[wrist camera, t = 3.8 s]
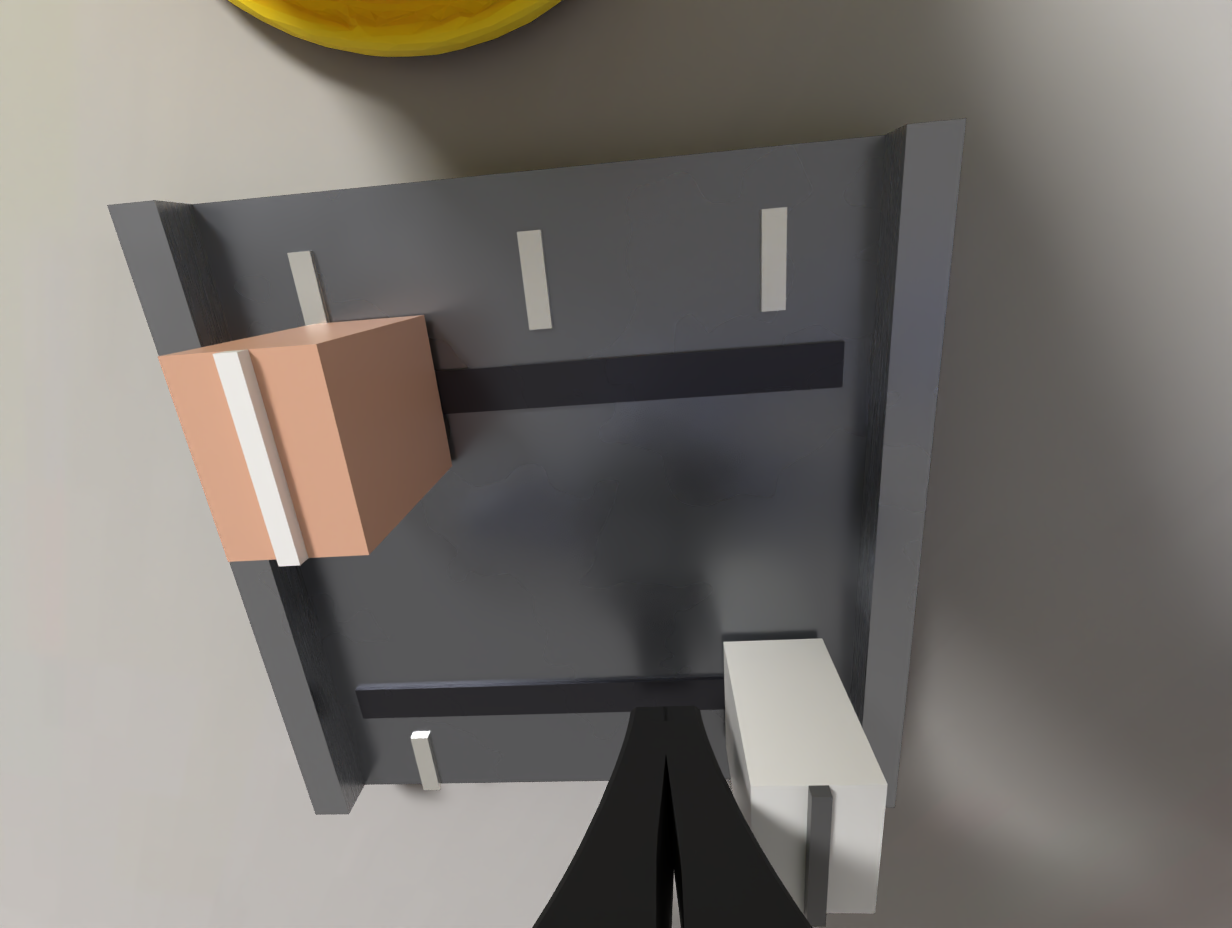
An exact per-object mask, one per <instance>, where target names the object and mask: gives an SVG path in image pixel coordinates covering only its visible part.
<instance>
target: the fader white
mask: <svg viewBox="0 0 1232 928" xmlns="http://www.w3.org/2000/svg"><path fill="white" fill-rule="evenodd" d="M723 646H724V686H725V727H726V750H727V757H728V763H729V770H730V776H731V783H732V789H733V795H734V798H735V800H736V802H737V804H738V806H739V808H740V810H741V812H742V814H743V816H744V818H745V820H746V822H747V823H748V825H749V827H750V829H751V831H752V832H753V834H754V836H755V838H756V839H757V841H758V843H759V845H760V847H761V848H762V850H763V852H764V853H765V855H766V857H767V858H768V860H769V862H770V864H771V865H772V867H773V868H774V870H775V872H776V873H777V875H778V877H779V878H780V880H781V881H782V883H783V884H784V886H785V887H786V889H787V890H788V892H789V894H790V895H791V897H792V898H793V900H794V901H795V903H796V904H797V906H798V907H799V909H800V910H801V912H802V913H804V916H805V917H806V919H807V920H808V922H809V923H810V925H811V926H826V913H875V910H876V899H877V889H878V879H879V868H880V858H881V847H882V837H883V827H884V816H885V806H886V796H887V785H888V784H887V782H886V780H885V778H884V775H883V773H882V771H881V769H880V766H879V764H878V762H877V760H876V757H875V755H874V753H873V751H872V749H871V746H870V744H869V742H868V740H867V737H866V735H865V733H864V731H863V728H862V726H861V724H860V722H859V720H858V717H857V715H856V713H855V711H854V708H853V706H852V704H851V702H850V699H849V697H848V695H847V693H846V691H845V688H844V686H843V684H842V682H841V679H840V677H839V675H838V673H837V670H836V668H835V666H834V664H833V662H832V659H831V657H830V655H829V653H828V650H827V648H826V646H825V644H824V641H823V639H822V638H819V639H790V640H761V641H732V642H723Z"/></svg>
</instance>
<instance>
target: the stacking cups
mask: <svg viewBox="0 0 1232 928" xmlns="http://www.w3.org/2000/svg"><path fill="white" fill-rule="evenodd" d="M228 1H230V2H231V3H232V4H234V5H235V6H237V7H239V8H241V9H242V10H244V11H246V12H247V13H249V14H251V15H253V16H254V17H256V18H258V19H259V20H261V21H263V22H265V23H267V24H269V25H271V26H273V27H275V28H277V29H279V30H282V31H284V32H286V33H288V34H290V35H292V36H294V37H297V38H300V39H303V40H306V41H309V42H312V43H315V44H318V45H321V46H324V47H328V48H334V49H339V50H344V51H349V52H354V53H359V54H364V55H370V56H382V57H411V56H425V55H438V54H442V53H447V52H451V51H456V50H460V49H464V48H467V47H470V46H473V45H476V44H480V43H483V42H486V41H489V40H493V39H496V38H498V37H500V36H502V35H504V34H506V33H509V32H511V31H513V30H515V29H517V28H519V27H521V26H523V25H526V24H528V23H530V22H532V21H533V20H535V19H536V18H537V17H539V16H540V15H542V14H543V13H545V12H546V11H548V10H549V9H551V8H552V7H554V6H555V5H556V4H558V3H559V2H561V1H562V0H228Z"/></svg>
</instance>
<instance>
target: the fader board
mask: <svg viewBox="0 0 1232 928" xmlns="http://www.w3.org/2000/svg"><path fill="white" fill-rule="evenodd" d="M965 125H966V118H963V119H954V120H944V121H934V122H924V123H914V124H907V125H905V126H903V127H901V128H899V129H897V130H895V131H893V132H891V133H889V134H887V135H881V136H871V137H861V138H851V139H841V140H831V141H821V142H811V143H801V144H791V145H781V146H771V147H761V148H751V149H741V150H731V151H721V152H711V153H701V154H691V155H681V156H671V157H661V158H651V159H641V160H631V161H621V162H611V163H601V164H591V165H581V166H571V167H561V168H551V169H541V170H531V171H521V172H511V173H501V174H491V175H481V176H471V177H461V178H451V179H441V180H431V181H421V182H411V183H401V184H391V185H381V186H371V187H361V188H351V189H341V190H331V191H321V192H311V193H301V194H291V195H282V196H272V197H262V198H252V199H242V200H232V201H222V202H212V203H202V204H184V203H174V202H165V201H156V200H153V201H143V202H133V203H123V204H114V205H107V206H108V209H109V212H110V215H111V218H112V220H113V223H114V226H115V229H116V232H117V235H118V238H119V241H120V244H121V247H122V250H123V253H124V256H125V258H126V261H127V264H128V267H129V270H130V273H131V276H132V279H133V282H134V285H135V288H136V291H137V294H138V296H139V299H140V302H141V305H142V308H143V311H144V314H145V317H146V320H147V323H148V326H149V329H150V332H151V334H152V337H153V340H154V343H155V346H156V349H157V352H158V355H159V356H163V355H167V354H172V353H177V352H182V351H187V350H191V349H196V348H201V347H206V346H211V345H215V344H220V343H225V342H230V341H235V340H239V339H244V338H249V337H254V336H259V335H263V334H268V333H273V332H278V331H283V330H288V329H292V328H297V327H302V326H307V325H312V324H319V323H331V322H344V321H356V320H368V319H381V318H393V317H405V316H417V315H424V317H425V322H426V328H427V333H428V338H429V344H430V349H431V354H432V360H433V365H434V370H435V376H436V381H437V386H438V392H439V397H440V403H441V408H442V413H443V419H444V424H445V429H446V435H447V440H448V445H449V451H450V456H451V461H452V467H451V468H450V469H449V470H448V471H447V472H446V473H445V474H444V475H443V476H442V477H441V479H440V480H439V481H438V482H437V483H436V484H435V485H434V486H433V487H432V488H431V489H430V490H429V491H428V492H427V494H426V495H425V496H424V497H423V498H422V499H421V500H420V501H419V502H418V503H417V504H416V505H415V506H414V507H413V509H412V510H411V511H410V512H409V513H408V514H407V515H406V516H405V517H404V518H403V519H402V520H401V521H400V522H399V524H398V525H397V526H396V527H395V528H394V529H393V530H392V531H391V532H390V533H389V534H388V535H387V536H386V537H385V539H384V540H383V541H382V542H381V543H380V544H379V545H378V546H377V547H376V548H375V549H374V550H373V551H372V552H371V554H370V555H359V556H338V557H317V558H308V559H307V560H306V561H305V562H303V563H302V564H301V565H297V566H278V563H277V560H255V561H235V562H230V565H231V568H232V571H233V574H234V577H235V580H236V583H237V586H238V589H239V592H240V595H241V597H242V600H243V603H244V606H245V609H246V612H247V615H248V618H249V621H250V624H251V627H252V630H253V633H254V635H255V638H256V641H257V644H258V647H259V650H260V653H261V656H262V659H263V662H264V665H265V668H266V670H267V673H268V676H269V679H270V682H271V685H272V688H273V691H274V694H275V697H276V700H277V703H278V706H279V708H280V711H281V714H282V717H283V720H284V723H285V726H286V729H287V732H288V735H289V738H290V741H291V744H292V746H293V749H294V752H295V755H296V758H297V761H298V764H299V767H300V770H301V773H302V776H303V779H304V782H305V784H306V787H307V790H308V793H309V796H310V799H311V802H312V805H313V808H314V811H315V814H316V815H318V814H349V813H350V811H351V809H352V807H353V806H354V804H355V802H356V800H357V798H358V796H359V794H360V793H361V791H362V789H363V787H364V785H367V784H422V785H423V789H424V790H440V788H441V783H491V782H552V781H609V780H610V777H611V775H612V772H613V770H614V767H615V765H616V762H617V759H618V756H619V753H620V750H621V747H622V744H623V741H624V738H625V734H626V731H627V727H628V723H629V718H630V712H631V711H632V710H633V709H634V708H635V707H659V706H696V707H697V708H698V709H699V710H700V711H701V716H702V720H703V724H704V727H705V730H706V733H707V736H708V739H709V742H710V745H711V747H712V750H713V752H714V755H715V757H716V760H717V762H718V764H719V767H720V769H721V771H722V773H723V776H724V778H725V779H731V776H730V770H729V763H728V757H727V750H726V727H725V686H724V646H723V642H732V641H761V640H790V639H819V638H822V639H823V641H824V644H825V646H826V648H827V650H828V653H829V655H830V657H831V659H832V662H833V664H834V666H835V668H836V670H837V673H838V675H839V677H840V679H841V682H842V684H843V686H844V688H845V691H846V693H847V695H848V697H849V699H850V702H851V704H852V706H853V708H854V711H855V713H856V715H857V717H858V720H859V722H860V724H861V726H862V728H863V731H864V733H865V735H866V737H867V740H868V742H869V744H870V746H871V749H872V751H873V753H874V755H875V757H876V760H877V762H878V764H879V766H880V769H881V771H882V773H883V775H884V778H885V780H886V782H887V784H888V785H887V796H886V806H885V808H895V801H896V791H897V781H898V772H899V762H900V752H901V743H902V733H903V723H904V714H905V704H906V694H907V685H908V675H909V665H910V656H911V646H912V637H913V627H914V617H915V608H916V598H917V588H918V579H919V569H920V559H921V550H922V540H923V530H924V521H925V511H926V501H927V492H928V482H929V473H930V463H931V453H932V444H933V434H934V424H935V415H936V405H937V395H938V386H939V376H940V366H941V357H942V347H943V337H944V328H945V318H946V309H947V299H948V289H949V280H950V270H951V260H952V251H953V241H954V231H955V222H956V212H957V202H958V193H959V183H960V173H961V164H962V154H963V145H964V135H965Z"/></svg>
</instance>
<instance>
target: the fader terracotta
mask: <svg viewBox="0 0 1232 928" xmlns="http://www.w3.org/2000/svg"><path fill="white" fill-rule="evenodd" d="M158 359H159V362H160V364H161V367H162V370H163V373H164V376H165V379H166V382H167V385H168V388H169V391H170V394H171V397H172V399H173V402H174V405H175V408H176V411H177V414H178V417H179V420H180V423H181V426H182V429H183V432H184V434H185V437H186V440H187V443H188V446H189V449H190V452H191V455H192V458H193V461H194V464H195V466H196V469H197V472H198V475H199V478H200V481H201V484H202V487H203V490H204V493H205V496H206V499H207V501H208V504H209V507H210V510H211V513H212V516H213V519H214V522H215V525H216V528H217V531H218V534H219V536H220V539H221V542H222V545H223V548H224V551H225V554H226V557H227V560H228V562H235V561H255V560H277V563H278V566H297V565H301V564H302V563H303V562H305V561H306V560H307V559H308V558H317V557H338V556H359V555H370V554H371V552H372V551H373V550H374V549H375V548H376V547H377V546H378V545H379V544H380V543H381V542H382V541H383V540H384V539H385V537H386V536H387V535H388V534H389V533H390V532H391V531H392V530H393V529H394V528H395V527H396V526H397V525H398V524H399V522H400V521H401V520H402V519H403V518H404V517H405V516H406V515H407V514H408V513H409V512H410V511H411V510H412V509H413V507H414V506H415V505H416V504H417V503H418V502H419V501H420V500H421V499H422V498H423V497H424V496H425V495H426V494H427V492H428V491H429V490H430V489H431V488H432V487H433V486H434V485H435V484H436V483H437V482H438V481H439V480H440V479H441V477H442V476H443V475H444V474H445V473H446V472H447V471H448V470H449V469H450V468H451V467H452V461H451V456H450V451H449V445H448V440H447V435H446V429H445V424H444V419H443V413H442V408H441V403H440V397H439V392H438V386H437V381H436V376H435V370H434V365H433V360H432V354H431V349H430V344H429V338H428V333H427V328H426V322H425V317H424V315H417V316H405V317H393V318H381V319H368V320H356V321H344V322H331V323H319V324H312V325H307V326H302V327H297V328H292V329H288V330H283V331H278V332H273V333H268V334H263V335H259V336H254V337H249V338H244V339H239V340H235V341H230V342H225V343H220V344H215V345H211V346H206V347H201V348H196V349H191V350H187V351H182V352H177V353H172V354H167V355H163V356H158Z"/></svg>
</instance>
